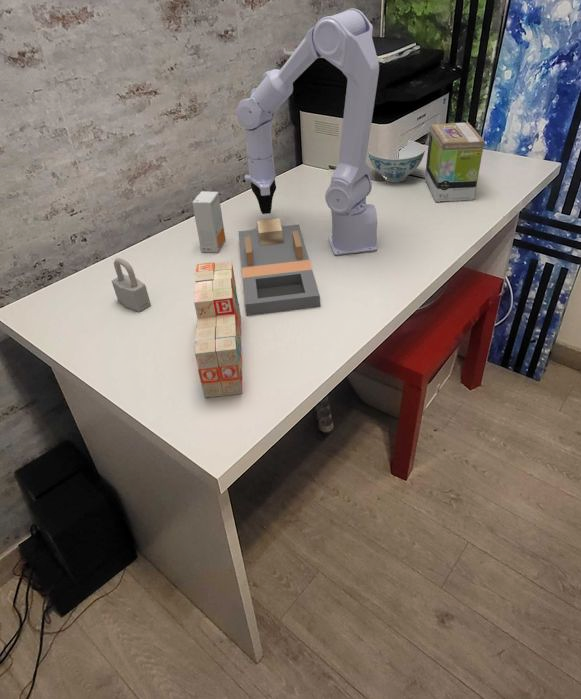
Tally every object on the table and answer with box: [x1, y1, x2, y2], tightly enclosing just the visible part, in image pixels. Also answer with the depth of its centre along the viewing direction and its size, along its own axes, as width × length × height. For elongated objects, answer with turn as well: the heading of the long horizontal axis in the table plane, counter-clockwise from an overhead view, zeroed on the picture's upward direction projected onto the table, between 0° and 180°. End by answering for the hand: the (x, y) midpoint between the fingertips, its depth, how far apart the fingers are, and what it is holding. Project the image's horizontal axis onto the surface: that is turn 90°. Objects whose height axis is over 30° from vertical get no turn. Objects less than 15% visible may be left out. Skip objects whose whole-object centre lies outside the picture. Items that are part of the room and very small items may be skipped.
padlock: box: [111, 257, 152, 313], centre depth 102 cm, size 7×4×10 cm, turn 51°
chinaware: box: [367, 139, 426, 183], centre depth 143 cm, size 15×15×8 cm
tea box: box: [424, 122, 485, 203], centre depth 132 cm, size 15×10×15 cm
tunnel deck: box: [238, 224, 321, 316], centre depth 109 cm, size 14×30×6 cm, turn 7°
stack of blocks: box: [193, 260, 243, 398], centre depth 87 cm, size 21×6×12 cm, turn 5°
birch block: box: [256, 217, 283, 245], centre depth 116 cm, size 5×6×3 cm
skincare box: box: [192, 190, 227, 253], centre depth 117 cm, size 6×4×12 cm
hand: (266, 212), depth 125 cm, fingers closed
